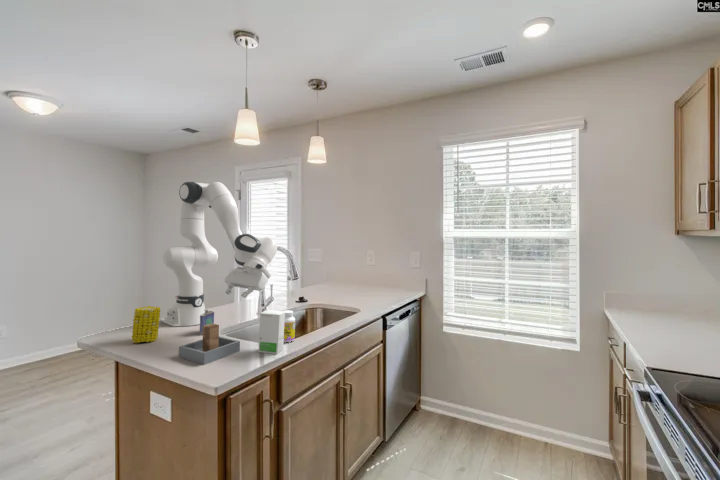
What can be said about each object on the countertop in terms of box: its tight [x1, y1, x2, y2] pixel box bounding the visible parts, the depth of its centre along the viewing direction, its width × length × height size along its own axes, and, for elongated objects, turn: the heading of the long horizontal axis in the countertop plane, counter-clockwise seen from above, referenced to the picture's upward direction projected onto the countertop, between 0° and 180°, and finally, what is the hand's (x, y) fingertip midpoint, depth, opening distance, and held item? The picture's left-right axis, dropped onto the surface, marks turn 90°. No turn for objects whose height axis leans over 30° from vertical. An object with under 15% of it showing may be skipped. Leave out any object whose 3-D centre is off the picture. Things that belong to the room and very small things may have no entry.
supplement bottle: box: [283, 309, 296, 344], centre depth 147 cm, size 7×7×13 cm
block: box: [202, 323, 220, 352], centre depth 129 cm, size 4×4×10 cm
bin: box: [178, 336, 241, 365], centre depth 129 cm, size 14×16×4 cm
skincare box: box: [257, 309, 285, 355], centre depth 134 cm, size 8×7×16 cm
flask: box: [199, 308, 215, 336], centre depth 157 cm, size 9×3×11 cm, turn 172°
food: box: [131, 305, 161, 344], centre depth 143 cm, size 15×12×10 cm
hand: (235, 295), depth 140 cm, fingers open, 8 cm apart
